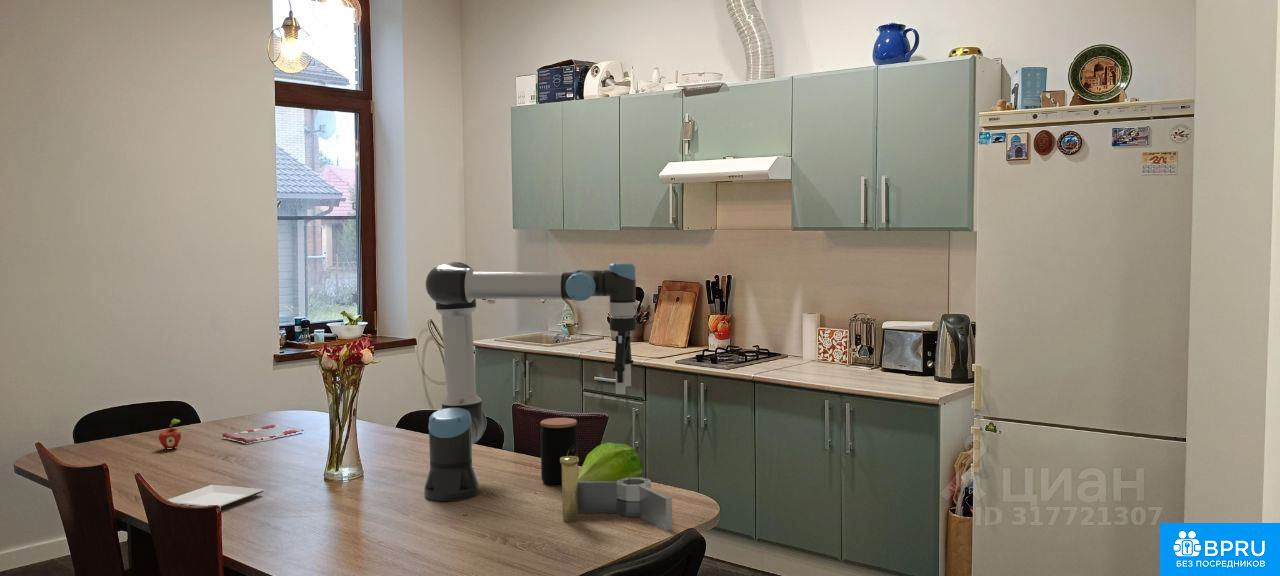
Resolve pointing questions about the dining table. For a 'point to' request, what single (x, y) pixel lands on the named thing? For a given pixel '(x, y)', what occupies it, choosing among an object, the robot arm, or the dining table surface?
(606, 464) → the lettuce
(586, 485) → the hinge
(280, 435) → the dish towel
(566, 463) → the pin
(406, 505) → the dining table surface
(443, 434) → the robot arm
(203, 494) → the plate
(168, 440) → the apple
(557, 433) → the coffee jar
